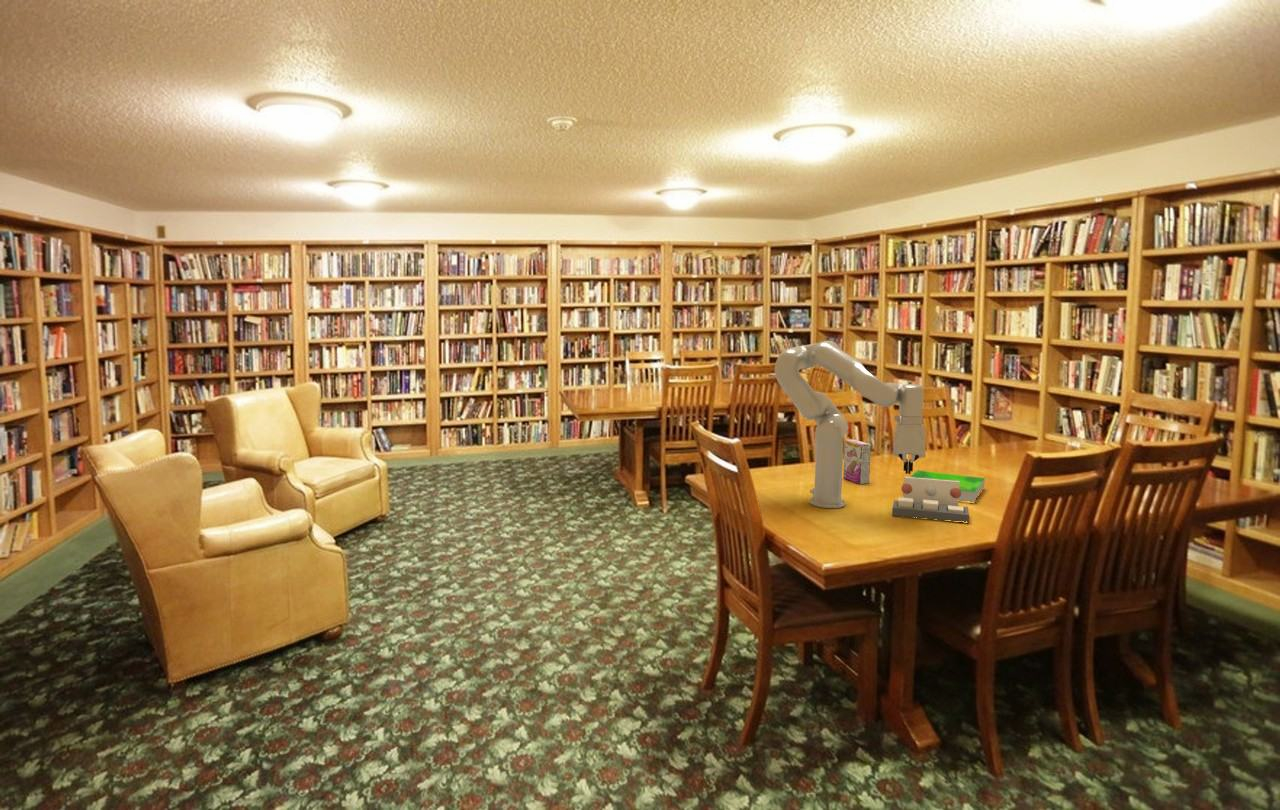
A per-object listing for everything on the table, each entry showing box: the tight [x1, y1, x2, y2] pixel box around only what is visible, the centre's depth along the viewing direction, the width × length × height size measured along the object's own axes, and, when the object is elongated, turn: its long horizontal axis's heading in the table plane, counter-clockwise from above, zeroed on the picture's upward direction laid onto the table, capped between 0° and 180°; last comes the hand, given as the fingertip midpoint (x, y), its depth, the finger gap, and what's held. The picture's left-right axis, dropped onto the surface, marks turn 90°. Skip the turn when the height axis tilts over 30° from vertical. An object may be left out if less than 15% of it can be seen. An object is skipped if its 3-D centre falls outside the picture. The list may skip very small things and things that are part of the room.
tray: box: [902, 469, 986, 502], centre depth 281 cm, size 25×25×5 cm
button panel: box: [891, 476, 970, 523], centre depth 251 cm, size 24×14×11 cm, turn 68°
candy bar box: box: [842, 438, 872, 485], centre depth 297 cm, size 11×5×16 cm, turn 22°
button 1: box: [897, 496, 913, 508], centre depth 253 cm, size 5×5×3 cm
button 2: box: [948, 505, 964, 513], centre depth 247 cm, size 5×5×3 cm
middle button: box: [923, 500, 938, 510], centre depth 250 cm, size 5×5×3 cm
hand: (907, 473), depth 251 cm, fingers closed
